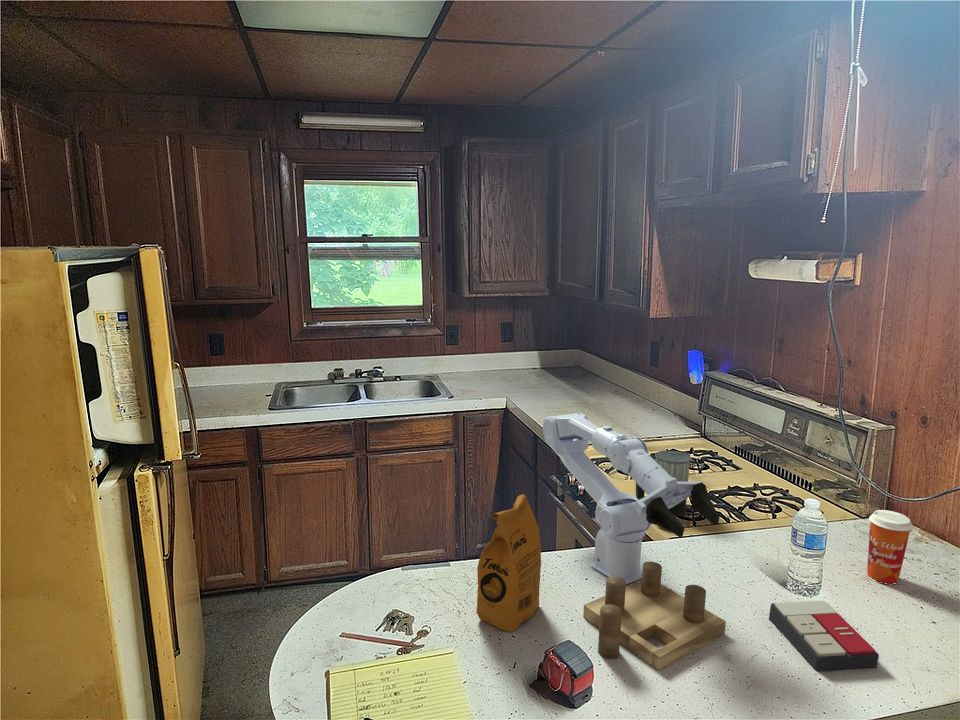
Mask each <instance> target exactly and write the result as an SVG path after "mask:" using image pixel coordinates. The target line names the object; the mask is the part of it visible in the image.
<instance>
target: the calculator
mask: <svg viewBox="0 0 960 720" xmlns="http://www.w3.org/2000/svg"><path fill="white" fill-rule="evenodd" d="M769 607H770V609H769V614H768V620H769V621H770V623H771V622H772V623H773V624H774V625H775V626H776V627H775V626H774V625H773V624H772V625H773V626H774V627H775V628H776V629H777V631H778V632H779V633H782V634H783V636H784V637H785V638H786V639H787V641H789V643H790V644H791V646H792V647H794V649H795V650H796V652H798V653H799V654H800V656H801V657H802V658H803V659H804V660H805V661H806V662H807V663H808V665H809V666H811V668H812V669H813V670H814V671H815V672H819V673H820V672H821V673H822V672H837V671H839V672H840V671H854V670H870V669H877V667H878V662H879V657H880V655H879V653H878V652H877V651H876V649H875V648H874V647H873V646H871V644H870V643H869V642H867V640H866V639H865V638H864V637H862V635H861V634H859V632H857V631H856V629H854V627H852V626H851V624H850V623H848V621H846V619H845V618H844V617H843V616H841V615H840V613H838V612H837V611H836V610H835V609H834V608H833V607H832V606H831V605H830V604H829V603H828V602H826V601H825V600H808V601H788V602H773V603H771V604H770V606H769Z"/></svg>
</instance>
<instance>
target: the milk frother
mask: <svg viewBox="0 0 960 720" xmlns="http://www.w3.org/2000/svg"><path fill="white" fill-rule="evenodd" d="M654 456H655V459H654V458H653V459H654V460H655V461H656V462H657V463H658V464H659V465H660V466H661V467H662V468H663V469H664V470H665V471H666V472H667V473H668V474H669V475H670V476H671V477H672V478H673V477H675V478H676V479H677V481H678V482H689V476H690V475H689V474H690V463H691V461H692V456H690V455H689V454H687V453H684V452H681V451H677V450H676V451H675V450H659V451H657V452H655V453H654ZM645 494H646V493H645V491H644V490H643V489H642V488H641V487H640V486H639V485H638V484H637V483H636V482H635V497H636V498H637V499H638V500H640V499H642V498H644V497H645ZM687 499H688V498H686V499H685V500H683V501H682V502H680V503H678V504H677V505H675V506H674V507H672V508H670V509H669V510H670V512H671V513H672V514H673V515H674V516H675V517H676V518H677V520H678V521H679V522H680V523H681V524H683V522H682V520H681V519H679V518H678V517H677V516H683V515H685V514H687V511H688V509H687Z"/></svg>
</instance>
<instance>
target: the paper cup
mask: <svg viewBox="0 0 960 720" xmlns="http://www.w3.org/2000/svg"><path fill="white" fill-rule="evenodd" d="M868 519H869V521H870V524H869V536H868V552H867V554H868V555H867V565H866V567H867V568H866V569H867V571H866V574H868V575H867V577H868V576H869V577H871V578H872V579H874V580H876V581H878V582H882V583H887V584H893V583H897V584H898V582H899V579H900V575H901V572H902V571H901V570H902V568H903V567H902V566H903V563H904V559H905V553H906V550H907V546H908V545H907V544H908V541H909V536H910V533H911V530H913V529H914V526H913V523H912V521H911V519H910V518H909V517H907V515H904V514H903V513H900V512H897V511H893V510H886V509H877V510H875V511H874V512H873V513H871V515H870V516H869V517H868ZM869 577H868V578H869ZM872 579H871V580H872ZM876 581H875V582H876ZM878 582H877V583H878Z"/></svg>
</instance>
